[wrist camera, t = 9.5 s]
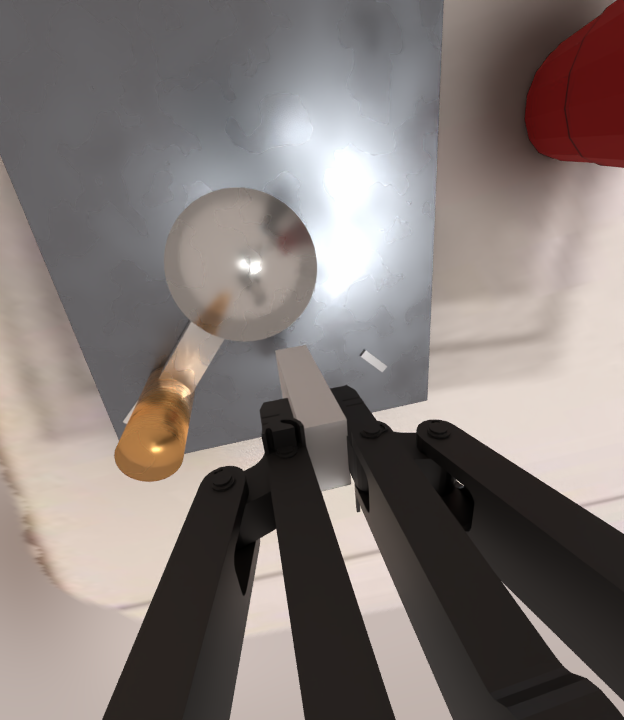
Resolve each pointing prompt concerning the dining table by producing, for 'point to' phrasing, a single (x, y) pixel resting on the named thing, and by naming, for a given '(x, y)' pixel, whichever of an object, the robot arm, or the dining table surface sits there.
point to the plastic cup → (582, 95)
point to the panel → (230, 179)
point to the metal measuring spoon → (217, 309)
